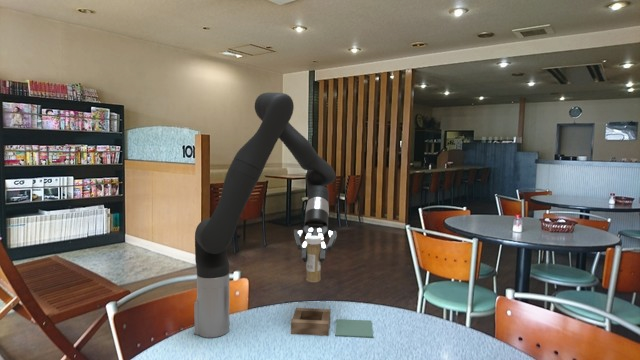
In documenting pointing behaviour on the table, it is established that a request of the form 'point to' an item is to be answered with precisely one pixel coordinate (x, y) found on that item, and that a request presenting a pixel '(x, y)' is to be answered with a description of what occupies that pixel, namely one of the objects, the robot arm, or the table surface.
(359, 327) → the rubber mat
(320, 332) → the keeper collar
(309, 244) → the sprinkles bottle
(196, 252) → the robot arm
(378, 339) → the table surface
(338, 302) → the table surface
